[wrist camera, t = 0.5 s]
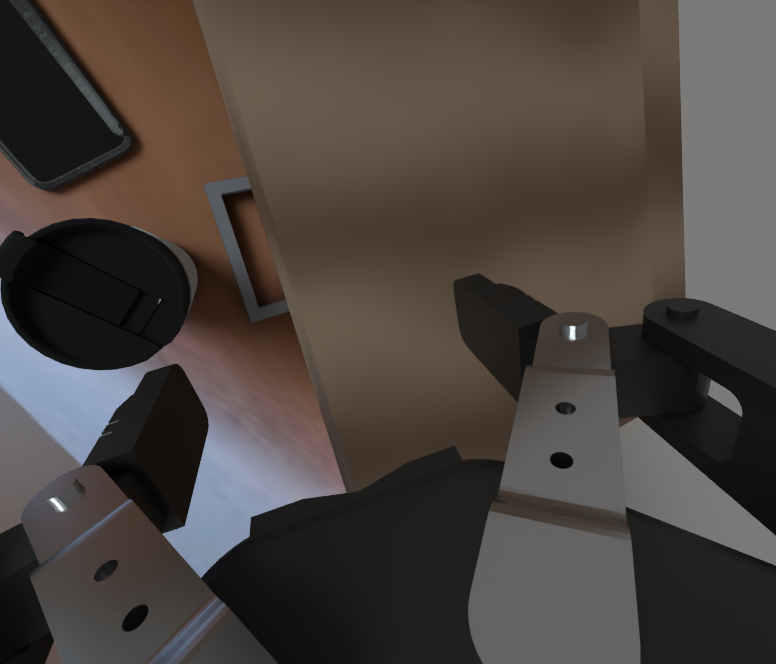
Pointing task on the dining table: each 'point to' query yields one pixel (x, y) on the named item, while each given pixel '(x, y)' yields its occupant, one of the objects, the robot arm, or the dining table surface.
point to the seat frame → (232, 249)
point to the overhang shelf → (450, 189)
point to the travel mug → (96, 292)
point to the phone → (50, 104)
